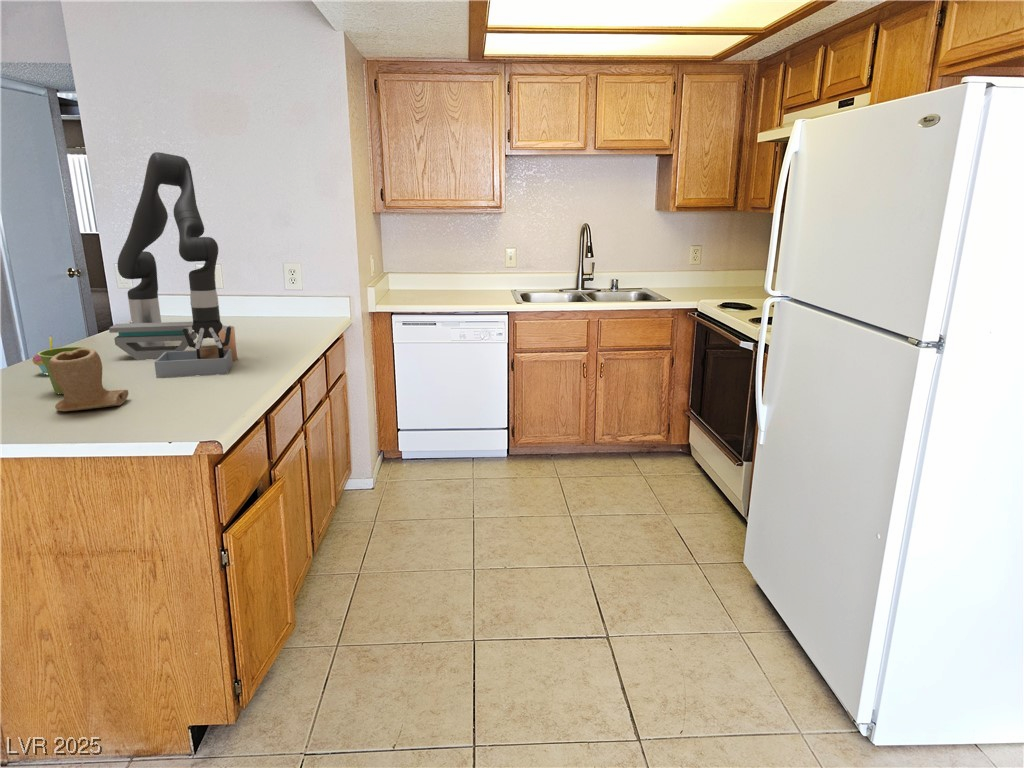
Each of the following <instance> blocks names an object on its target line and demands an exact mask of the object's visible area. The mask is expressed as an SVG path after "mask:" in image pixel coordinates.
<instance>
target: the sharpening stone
mask: <svg viewBox="0 0 1024 768" xmlns="http://www.w3.org/2000/svg"><path fill="white" fill-rule="evenodd" d="M192 325H193V321H173V322H172V321H169V322H167V321H166V322H165V321H164V322H163V321H162V322H161V323H130V322H129V323H115V324H113V325H111V326H110V327H108V329H109V330H108V331H109V333H110V334H115V333H116V334H118V335H117V336H115V337H114V338H113V339H114V344H115V346H117V348H119V349H120V350H122V351H124V352H125V353H126V354H128V355H129V356H130V357H132V358H133V359H134V360H136V361H147V360H146V359H153V360H157V359H158V358H159V357H160V356H161V355H162V354H163V353H164V352H171V351H186V349H187V348H188V347H189V345H188V343H187V340H186V338H185V335H184V333H183V329H184V328H185V327H191V326H192ZM191 336H192V339H193V341H194V342H195V340H196V339H197V338H198V334H197V333H196V332H195V331H194V330H192V333H191ZM160 341H164V342H180V344H179V345H163V346H153V347H142V346H141V345H139V344H138V343H137V342H160Z"/></svg>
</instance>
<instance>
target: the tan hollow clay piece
mask: <svg viewBox="0 0 1024 768" xmlns="http://www.w3.org/2000/svg"><path fill="white" fill-rule="evenodd" d="M89 348H90V347H87V348H80V349H76V350H74V351H66V352H61V353H59V354H57V355H55V356H53V357H52V358H51V359H50V361H49V367H50V370H51V373H52V375H53V378H54V380H55V381H56V383H57V384H58V386H59V387H60V389H61V390H62V392H63V394H64V395H63V399H62V400H59V401H58V402H57V403H56V404H55V406H54V407H55V409H56V410H57V411H59V412H74V411H85V410H94V409H101V408H109V407H117V406H121V405H123V404H124V403H125V402H126V400H127V399H128V397H129V389H116V390H107V389H106V388H105V387H103V362H102V360H101V356H100V355H99V354H98V351H96V350H94V349H93V348H90V349H89Z"/></svg>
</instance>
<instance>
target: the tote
mask: <svg viewBox="0 0 1024 768" xmlns="http://www.w3.org/2000/svg"><path fill="white" fill-rule="evenodd" d="M232 366H233V361H232V351H231V349H224V357H223V358H218V359H198V358H197V352H196V349H195V350H184V351H171V352H164V353H163V354H162V355H161V356H160V357H159V358H158V359H155V361H154V370H155V375H156V376H155V377H156V378H157V379H158V378H161V379H162V378H178V376H181V377H197V376H196V375H200V376H215V375H216V374H219V375H228V373H229V371H230V369H231V368H232ZM216 376H217V375H216Z"/></svg>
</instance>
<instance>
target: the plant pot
mask: <svg viewBox="0 0 1024 768" xmlns="http://www.w3.org/2000/svg"><path fill="white" fill-rule="evenodd" d="M80 348H89V349H91V348H90V347H85V346H64V347H55V348H54V347H53V349H50V348H49V349H45V350H41V351H38V352H37V354H38V356H40V357H41V359H42V361H43V364H44V365H45V367H46V370H47V372H48V375H49V376H48V377H49V380H50V382H51V385H52V389H53V391H54V393H55V394H57V393H59V394H63V392H62V390H61V389H60V387H59V386H58V384H57V383H56V381H55V380H54V378H53V375H52V373H51V370H50V367H49V361H50V359H51V358H52V357H53V356H55V355H57V354H59V353H61V352H66V351H74V350H76V349H80ZM59 394H58V395H59Z"/></svg>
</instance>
